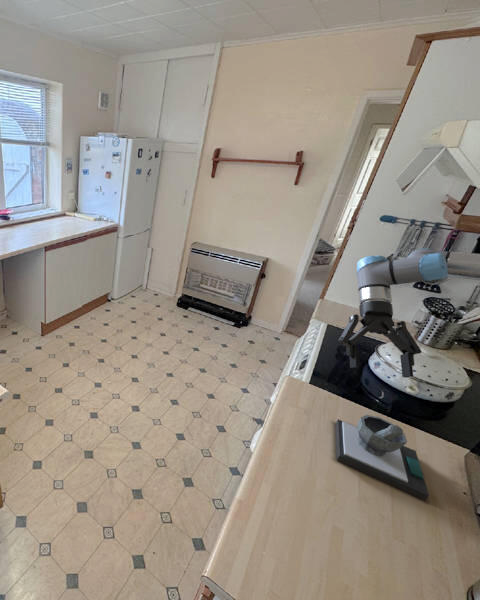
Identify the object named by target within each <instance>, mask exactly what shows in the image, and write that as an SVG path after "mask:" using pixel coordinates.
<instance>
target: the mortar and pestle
mask: <svg viewBox="0 0 480 600" xmlns="http://www.w3.org/2000/svg"><path fill="white" fill-rule="evenodd" d="M356 427H357V428H358V433H359V437H358V439H357V440H358V444H359V445H360V446H361V447H362V448H363V449H364V450H366V451H368V452H369V453H371V454H373V455H377V456H383V455H385V454H386V452H393V451H396V450H398V449H400V448H401V447H402V446H405V445H406V444H407V442H408V439H407V437H406V434H405V432H404V430H403V429H402V427H401V426H399V425H397V424H394V423H392V422H390V421H388V420H386V419H384V418H382V417H380V416H375V415H372V414H371V415H370V414H365V415H363V416H361V417H360V418H359V419H358V420H357V424H356Z"/></svg>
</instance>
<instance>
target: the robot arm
mask: <svg viewBox="0 0 480 600" xmlns="http://www.w3.org/2000/svg"><path fill="white" fill-rule="evenodd" d="M447 277H449V278H457V279H466V280H474V281H480V253H472V252H459V251H445V250H436V249H433V248H429V247H422V248H418V249H415V250H413V251H411V252H410V253H409V254H408V255H407V256H406V257H405V258H399V259H394V260H393V259H392V260H388V258H387V257H385V256H383V255H369V256H365V257H363V258H360V259H359V260H358V261H357V262H356V280H357V291H358V303H359V306H358V308H359V314H357V313H355V314H353V315H351V316H349V317H348V323H347V324H346V326H345V328H344V330H343V331H342V333H341V335H340V337H339V338H338V339H337V340H338V343H340V344H342V345H343V347H345V349H346V356H347V357H349V368H350V369H353V370H354V369H359V368H360V358H359V357H360V356H359V355H360V354H359V345H357V344H356V343H358V342H359V340H361V339H362V338H363V337H364V336H365V335H366V334H368V333H370V334H376V335H377V334H378V335H383V336H384V337H386V338H387V339H388V340H389V341H390V342H391V343H392V344H393V345H394V346H395V347H396V348H397V349H398V350H399V352H400V353H401V354H400V355H399V357H400V358H399V359H400V367H401V377H402V378H406V379H407V378H414V368H413V367H414V366H415V355H417V354H419V355H420V354H422V353H423V352H422V350H421V348H420V346H419V345H418V343H417V342H416V340H415V339H414V337H413V335H412V334H411V333H410V331H409V329H408V328H407V324H406V322H405V321H404V320H400V321H394V320H393V316H394V310H393V309H394V308H393V304H392V302H393V297H392V289H391V286H395V285H404V284H412V283H413V284H414V283H420V282H432V281H436V280H441V279H446V278H447ZM359 323H360V324H361V325H362V326H361V327H360V328H359V329H358V331H356V332H355V333H354V331H355V329H356V328H357V325H358V324H359ZM353 333H354V334H353Z"/></svg>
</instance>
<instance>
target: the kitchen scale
mask: <svg viewBox="0 0 480 600" xmlns="http://www.w3.org/2000/svg"><path fill="white" fill-rule="evenodd" d="M334 426H335V451H336V452H335V453H336V461H337V462H340V463H341V464H344V465H345V466H348V467H350V468H353V469H355V470H357V471H359V472H361V473H363V474H366V475H368V476H370V477H372V478H374V479H377V480H379V481H381V482H383V483H385V484H386V485H387V484H388V485H390V486H392V487H394V488H396V489H398V490H400V491H402V492H405V493H407V494H409V495H412V496H414V497H416V498H418V499H420V500H422V501H424V502H425V501H426V500H427V499H428V498H429V497H430V493H429V490H428V487H427V483H426V480H425V477H424V473H423V470H422V467H421V464H420V461H419V458H418V453H417V450H415V449H412V448H410V447H407V446H405V445H404V446H402V447H401V448H400V449H398V450H396V451H393V452H386V454H385V455H383V456H377V455H373V454H371V453H369V452H368V451H366V450H364V449H363V448H362V447H361V446H360V445H359V444H358V440H357V439H358V437H359V433H358V428H357V425H356V426H355V425H354V424H351V423H348V422H346V421H343V420H342V419H337V420H336V422H335V424H334Z"/></svg>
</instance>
